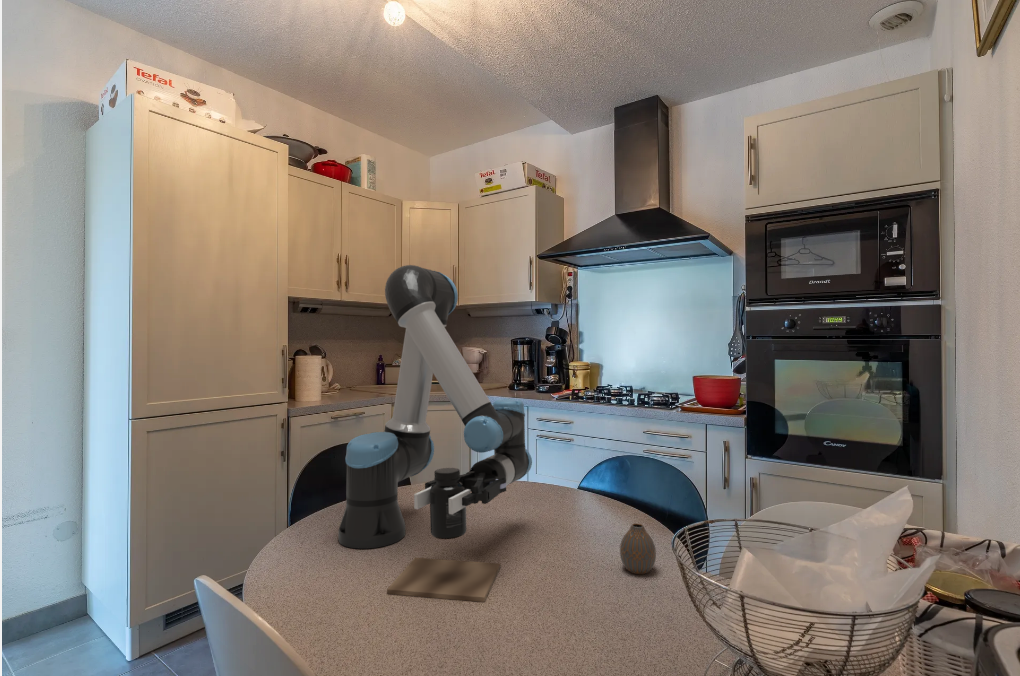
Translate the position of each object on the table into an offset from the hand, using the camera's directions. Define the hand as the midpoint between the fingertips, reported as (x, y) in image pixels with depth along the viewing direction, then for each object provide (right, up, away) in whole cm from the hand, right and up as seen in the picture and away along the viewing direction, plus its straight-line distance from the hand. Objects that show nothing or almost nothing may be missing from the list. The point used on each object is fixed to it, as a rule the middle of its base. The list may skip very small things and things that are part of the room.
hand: (433, 504), depth 92 cm
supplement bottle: (+2, -7, +4) cm, 9 cm away
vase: (+39, -16, +8) cm, 43 cm away
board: (+2, -16, +4) cm, 17 cm away
